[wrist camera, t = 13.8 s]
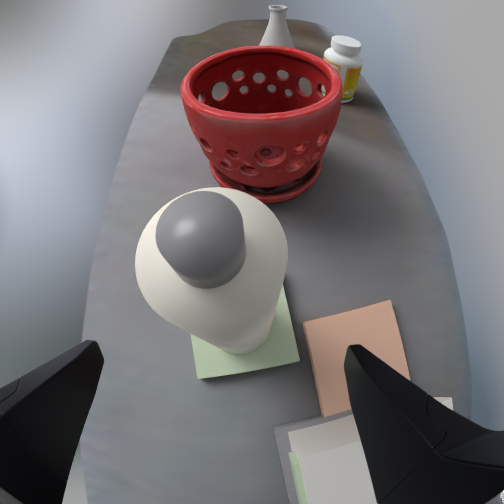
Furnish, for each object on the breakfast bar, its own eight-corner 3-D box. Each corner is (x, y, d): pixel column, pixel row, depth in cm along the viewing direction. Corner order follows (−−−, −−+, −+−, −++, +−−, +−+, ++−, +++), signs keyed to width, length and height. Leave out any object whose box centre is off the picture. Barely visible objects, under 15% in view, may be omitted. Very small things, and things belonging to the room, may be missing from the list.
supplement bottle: (317, 100, 35) (326, 42, 26) (318, 82, 37) (326, 30, 28) (354, 107, 34) (368, 52, 25) (352, 89, 36) (364, 39, 28)
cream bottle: (276, 347, 21) (315, 301, 6) (213, 358, 21) (115, 334, 6) (264, 287, 23) (270, 146, 8) (203, 298, 23) (118, 177, 8)
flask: (252, 57, 41) (251, 9, 32) (262, 43, 44) (262, 1, 35) (293, 62, 40) (296, 13, 31) (299, 48, 43) (302, 5, 34)
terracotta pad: (406, 385, 20) (411, 385, 19) (321, 415, 19) (324, 416, 18) (385, 302, 23) (390, 299, 22) (302, 323, 23) (304, 321, 22)
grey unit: (416, 459, 16) (467, 478, 9) (289, 503, 16) (302, 551, 8) (406, 385, 20) (461, 384, 12) (273, 426, 19) (280, 453, 12)
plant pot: (285, 117, 33) (291, 35, 22) (344, 191, 28) (379, 100, 17) (187, 148, 31) (165, 62, 20) (227, 237, 26) (208, 141, 15)
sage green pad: (298, 361, 21) (300, 361, 20) (200, 378, 21) (197, 378, 20) (277, 270, 24) (278, 266, 24) (187, 286, 24) (184, 283, 23)
